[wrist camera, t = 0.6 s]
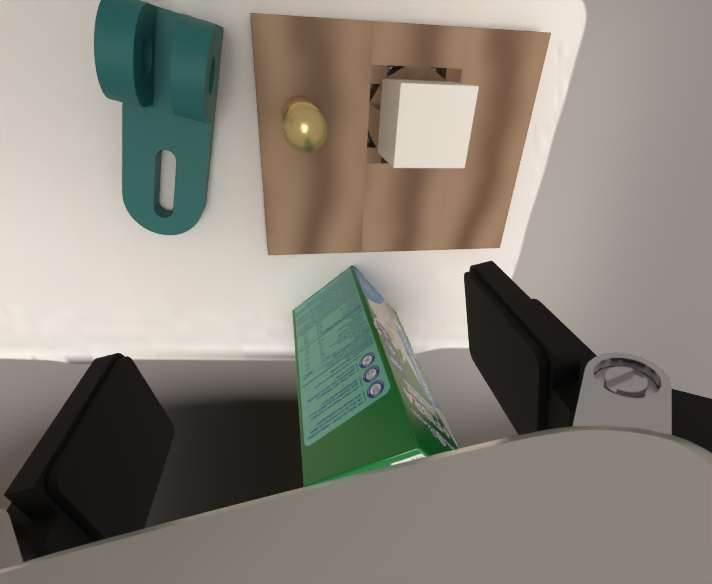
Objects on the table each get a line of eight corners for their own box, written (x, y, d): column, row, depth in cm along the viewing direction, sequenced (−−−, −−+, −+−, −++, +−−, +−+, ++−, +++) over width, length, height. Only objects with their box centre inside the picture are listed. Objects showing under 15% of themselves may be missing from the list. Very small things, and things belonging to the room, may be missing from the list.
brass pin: (282, 133, 35) (284, 152, 28) (281, 95, 34) (282, 105, 27) (317, 134, 36) (327, 152, 29) (317, 96, 34) (327, 106, 27)
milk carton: (291, 311, 47) (304, 521, 26) (352, 264, 45) (419, 449, 24) (339, 354, 52) (384, 565, 30) (396, 313, 50) (486, 506, 29)
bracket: (132, -1, 31) (92, -16, 24) (223, 28, 33) (210, 21, 26) (129, 219, 39) (99, 252, 32) (203, 232, 41) (189, 266, 34)
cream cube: (377, 152, 37) (393, 168, 32) (382, 78, 34) (401, 82, 29) (439, 152, 38) (464, 168, 33) (449, 81, 35) (479, 86, 30)
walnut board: (268, 245, 43) (268, 255, 40) (252, 15, 33) (250, 13, 30) (489, 239, 47) (499, 247, 45) (535, 34, 37) (551, 32, 35)
